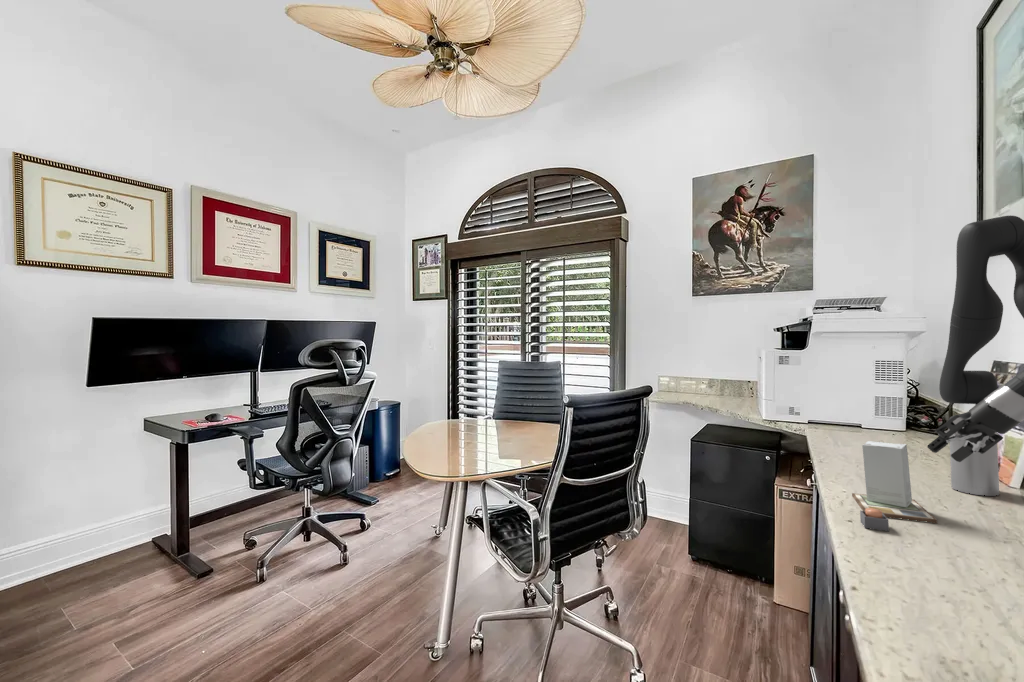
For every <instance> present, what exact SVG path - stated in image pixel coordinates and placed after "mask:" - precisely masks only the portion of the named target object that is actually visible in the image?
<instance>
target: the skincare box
mask: <svg viewBox="0 0 1024 682" xmlns="http://www.w3.org/2000/svg"><path fill="white" fill-rule="evenodd" d="M907 445H908V444H906V443H891V442H881V441H871V440H868V441H866V442H865V443H863V444H862V445H861V446H862V457H863V469H864V470H863V471H864V478H865V479H864V480H865V491H866V495H867V501H873V502H879V503H884V504H890V505H895V506H900V507H906V508H907V507H908V506H909V505H910V504H911V502H912V499H913V497H912V488H911V487H912V485H911V477H910V463H909V454H908V453H909V452H908V446H907Z"/></svg>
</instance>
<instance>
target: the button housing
mask: <svg viewBox="0 0 1024 682" xmlns="http://www.w3.org/2000/svg"><path fill="white" fill-rule="evenodd" d="M859 512H860V524H861V525H862V526H863V525H864V526H863V527H864V529H867V528H871V529H870V530H874V529H878V530H877V531H882V530H885V531H884V532H889V530H890V529H889V528H890V527H889V523H890V522H889V518H887V517H886V516H885V515H884V514H883V513H882V518H875V517H866V514H865V511H863V510H860V511H859Z"/></svg>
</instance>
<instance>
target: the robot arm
mask: <svg viewBox="0 0 1024 682" xmlns="http://www.w3.org/2000/svg"><path fill="white" fill-rule="evenodd" d="M1003 255H1004V256H1006V257H1007V258H1008V259H1009V260H1010V262H1011V264H1012V265H1013V267H1014V271H1015V279H1014V280H1015V281H1014V282H1015V283H1014V287H1013V288H1014V289H1013V301H1014V302H1013V303H1014V304H1015V307H1016V309H1017V311H1018V312H1019V314H1020V315H1021V317H1022V318H1023V319H1024V219H1022V218H1021V217H1019V216H1017V215H1003V216H1002V215H1001V216H999V217H997V216H996V217H992V218H988V219H987V218H986V219H982V220H978V221H973V222H970V223H967V224H965V225H964V226H963V227H962V228H961V230H960V231H959V234H958V236H957V241H956V281H955V289H954V298H953V303H952V309H951V314H950V315H951V316H950V321H949V322H950V323H949V333H948V334H949V335H948V341H947V342H948V344H947V350H946V354H945V358H944V362H943V366H942V370H941V373H940V374H941V375H940V379H939V390H938V391H939V395H940V398H941V399H942V401H944V402H946V403H950V404H961V405H963V404H964V405H974V406H973V407H971V408H970V409H969V410H968V411H966V412H963V413H959V414H956V415H952V416H949V418H948V420H947V421H946V422H944V423H943V424H942V425H940V426H939V427H938V428H937V429H935V433H937V435H938V436H937V437H936V438H934V440H932V441H931V442H930V443H929V444H928V445H927V446H926V447H927V448H928V450H929V451H931V452H932V453H935V454H936V453H937V454H938V453H939V452H940V451H941V450H942V449H944V448H945V447H946V446H948V445H949V456H950V458H949V459H950V482H951V483H950V484H951V485H950V486H951V487H950V488H952V489H953V490H955V491H957V490H958V492H961V493H966V494H969V493H970V495H977V496H984V495H985V496H986V497H994V496H995V497H996V495H997V496H1000V476H999V475H1000V472H999V452H998V444H999V442H1001V441H1002V440H1003V439H1004V437H1003V436H1002V435H1005V434H1006V433H1008V432H1009V431H1010V430H1012V429H1013V428H1015V427H1016V426H1018V425H1019V424H1021V423H1022V422H1023V421H1024V370H1022V371H1020V372H1019V373H1017V374H1016V375H1014V376H1013V377H1012V378H1011V379H1010V380H1007V382H1006V383H1005V384H1003V385H1001V386H1000V387H999V386H998V381H997V377H996V376H995V375H994V373H993V372H991V371H988V370H965V368H966V367H967V364H968V363H969V361H970V360H971V359H972V358H973V357H974V356H975V355H976V354H977V353H978V352H979V351H980V350H982V349H983V348H984V347H985V346H987V344H989V343H990V342H991V341H992V340H994V338H995V337H996V336H997V335H998V333H999V331H1000V329H1001V326H1002V320H1003V315H1004V314H1003V313H1004V305H1003V302H1002V300H1001V297H999V295H998V293H997V292H996V291H995V289H994V288H993V286H991V284H990V283H989V281H988V277H987V273H988V263H989V259H990V258H991V257H992V258H993V257H997V256H1003ZM946 429H947V430H946Z"/></svg>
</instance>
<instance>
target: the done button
mask: <svg viewBox="0 0 1024 682" xmlns="http://www.w3.org/2000/svg"><path fill="white" fill-rule="evenodd" d="M865 514H866V517H875V518H882V511H881V510H878V509H873V508H866V509H865Z"/></svg>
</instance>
